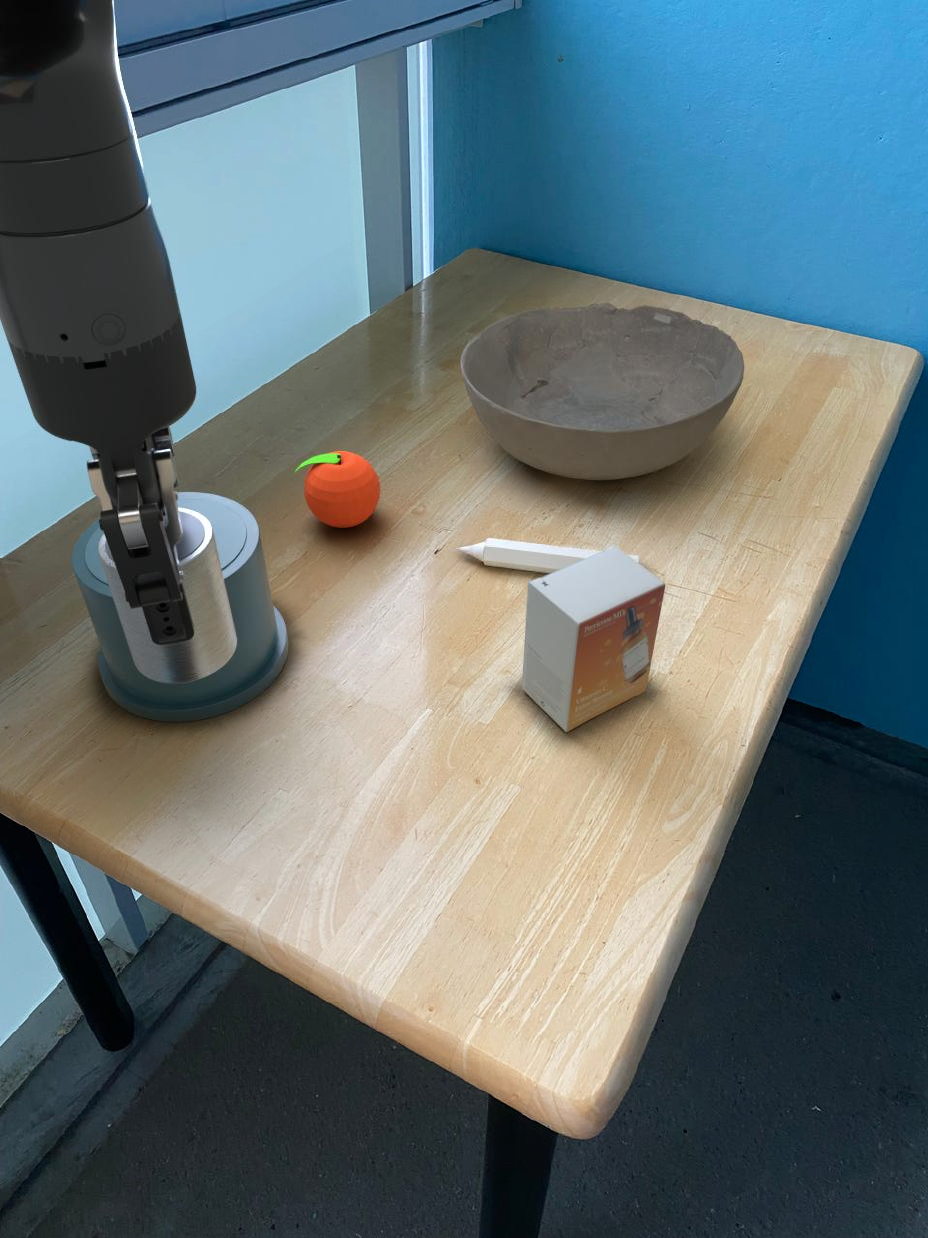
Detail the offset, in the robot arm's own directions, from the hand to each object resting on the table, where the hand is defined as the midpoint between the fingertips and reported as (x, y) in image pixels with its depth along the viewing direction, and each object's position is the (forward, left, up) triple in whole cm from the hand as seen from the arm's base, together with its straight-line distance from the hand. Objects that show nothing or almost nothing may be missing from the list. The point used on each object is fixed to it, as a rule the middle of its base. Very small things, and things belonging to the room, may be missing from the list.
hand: (172, 599), depth 53 cm
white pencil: (+29, +17, -17) cm, 38 cm away
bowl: (+41, +36, -17) cm, 57 cm away
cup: (0, 0, -4) cm, 4 cm away
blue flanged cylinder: (-1, +14, -17) cm, 22 cm away
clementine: (+13, +29, -17) cm, 36 cm away
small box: (+27, +2, -17) cm, 32 cm away
